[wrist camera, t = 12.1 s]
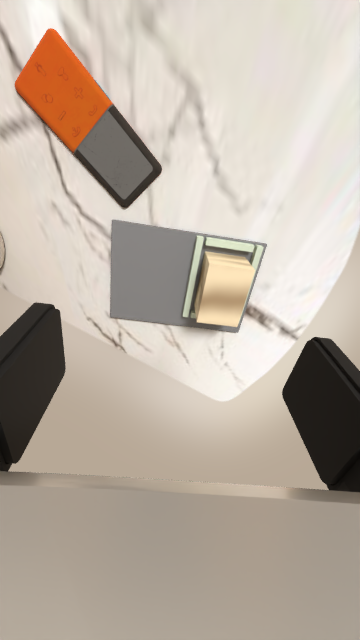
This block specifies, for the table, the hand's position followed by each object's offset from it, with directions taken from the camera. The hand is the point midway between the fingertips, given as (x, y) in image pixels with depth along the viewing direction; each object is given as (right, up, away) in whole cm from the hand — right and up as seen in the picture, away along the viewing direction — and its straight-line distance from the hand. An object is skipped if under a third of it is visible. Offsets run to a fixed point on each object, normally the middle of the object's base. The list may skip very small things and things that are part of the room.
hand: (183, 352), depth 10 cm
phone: (-9, +22, +18) cm, 30 cm away
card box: (+5, +7, +26) cm, 28 cm away
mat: (0, +7, +27) cm, 28 cm away
